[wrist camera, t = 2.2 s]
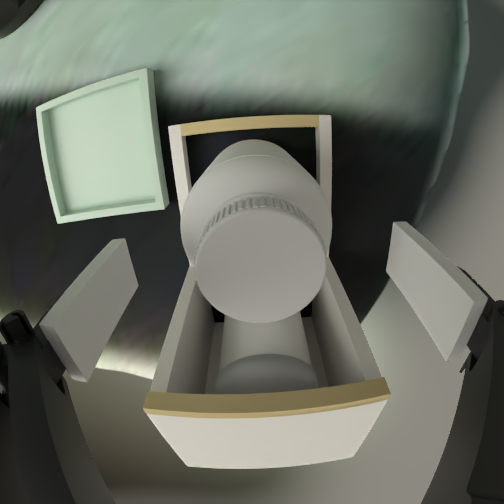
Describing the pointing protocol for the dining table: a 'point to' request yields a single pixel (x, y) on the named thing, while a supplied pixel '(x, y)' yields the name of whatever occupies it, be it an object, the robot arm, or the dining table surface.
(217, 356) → the dispenser
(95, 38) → the dining table surface
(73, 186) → the tray
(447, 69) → the dining table surface
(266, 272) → the pill bottle
